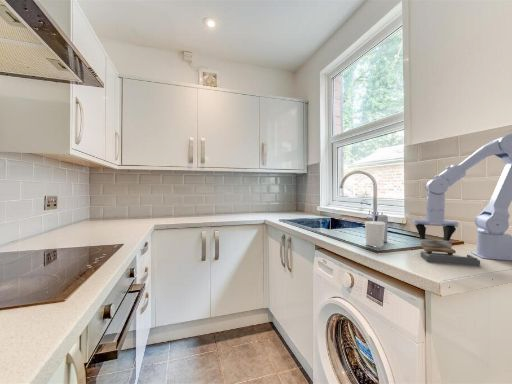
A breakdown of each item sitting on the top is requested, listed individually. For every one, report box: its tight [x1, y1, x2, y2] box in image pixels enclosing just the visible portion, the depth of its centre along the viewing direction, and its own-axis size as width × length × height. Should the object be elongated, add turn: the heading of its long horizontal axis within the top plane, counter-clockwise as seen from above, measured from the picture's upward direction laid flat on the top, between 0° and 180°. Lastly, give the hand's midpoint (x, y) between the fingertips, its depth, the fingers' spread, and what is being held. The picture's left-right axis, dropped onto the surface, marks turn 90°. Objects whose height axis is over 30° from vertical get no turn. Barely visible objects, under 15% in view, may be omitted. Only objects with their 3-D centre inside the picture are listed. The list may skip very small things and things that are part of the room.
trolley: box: [420, 238, 457, 256], centre depth 93 cm, size 10×5×4 cm, turn 72°
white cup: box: [364, 220, 386, 248], centre depth 105 cm, size 8×8×10 cm
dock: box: [418, 250, 481, 267], centre depth 87 cm, size 15×11×3 cm
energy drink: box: [374, 214, 389, 243], centre depth 113 cm, size 5×5×12 cm
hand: (434, 243), depth 97 cm, fingers open, 7 cm apart
